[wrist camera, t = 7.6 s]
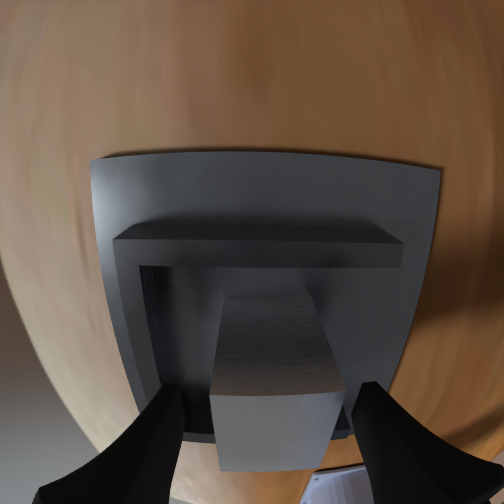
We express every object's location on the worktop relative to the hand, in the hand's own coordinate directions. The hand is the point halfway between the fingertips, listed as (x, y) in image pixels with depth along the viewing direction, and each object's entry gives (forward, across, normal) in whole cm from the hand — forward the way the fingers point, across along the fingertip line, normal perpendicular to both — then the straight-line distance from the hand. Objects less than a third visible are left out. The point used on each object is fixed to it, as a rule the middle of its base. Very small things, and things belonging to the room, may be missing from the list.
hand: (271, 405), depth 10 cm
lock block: (+4, 0, 0) cm, 4 cm away
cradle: (+5, 0, 0) cm, 5 cm away
